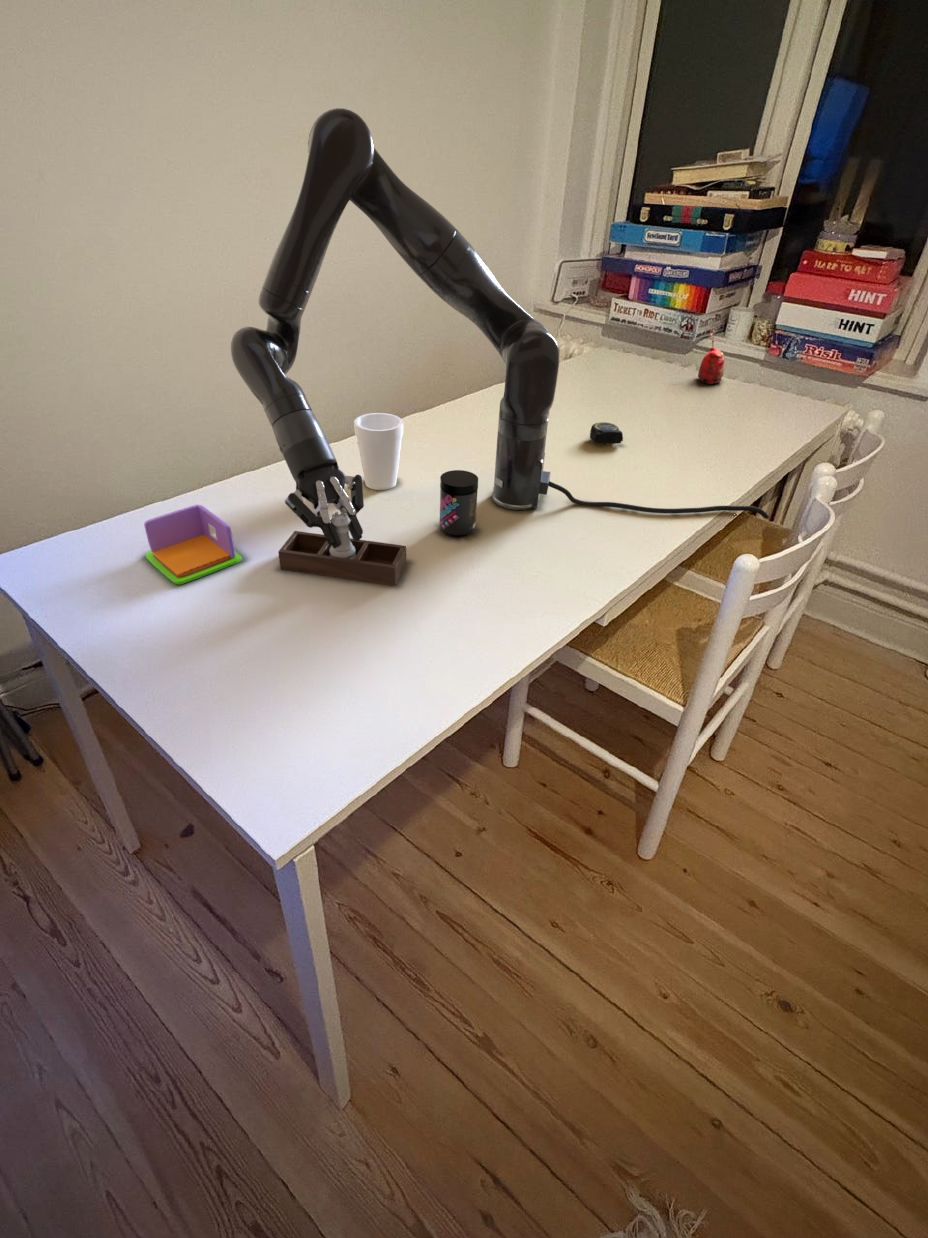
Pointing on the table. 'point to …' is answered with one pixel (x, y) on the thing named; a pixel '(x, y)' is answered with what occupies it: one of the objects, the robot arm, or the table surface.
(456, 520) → the supplement container
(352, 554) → the rook chess piece
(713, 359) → the red clay folk toy
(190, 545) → the toy room diorama
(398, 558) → the compartment tray
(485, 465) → the table surface
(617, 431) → the tape measure
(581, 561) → the table surface
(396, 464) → the foam cup
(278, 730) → the table surface
